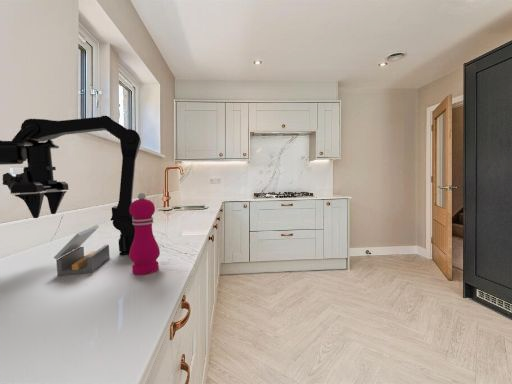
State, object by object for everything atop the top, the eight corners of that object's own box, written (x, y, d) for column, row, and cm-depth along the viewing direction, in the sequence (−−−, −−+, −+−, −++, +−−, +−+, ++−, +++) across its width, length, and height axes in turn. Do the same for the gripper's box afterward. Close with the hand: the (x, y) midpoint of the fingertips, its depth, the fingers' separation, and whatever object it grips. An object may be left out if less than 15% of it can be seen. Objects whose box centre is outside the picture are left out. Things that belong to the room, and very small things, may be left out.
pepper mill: (166, 267, 73) (162, 191, 72) (147, 276, 66) (142, 193, 65) (144, 265, 75) (140, 192, 74) (123, 274, 68) (119, 194, 67)
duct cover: (99, 226, 83) (96, 224, 83) (79, 235, 70) (76, 232, 70) (79, 246, 82) (77, 244, 82) (56, 259, 69) (52, 257, 69)
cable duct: (109, 257, 84) (108, 244, 84) (92, 272, 71) (91, 256, 70) (80, 259, 83) (79, 246, 83) (57, 275, 69) (56, 259, 69)
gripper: (28, 166, 89) (33, 214, 90) (-17, 162, 70) (-10, 223, 71) (67, 164, 91) (71, 211, 92) (32, 160, 72) (38, 219, 73)
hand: (45, 215), depth 82 cm, fingers open, 9 cm apart
